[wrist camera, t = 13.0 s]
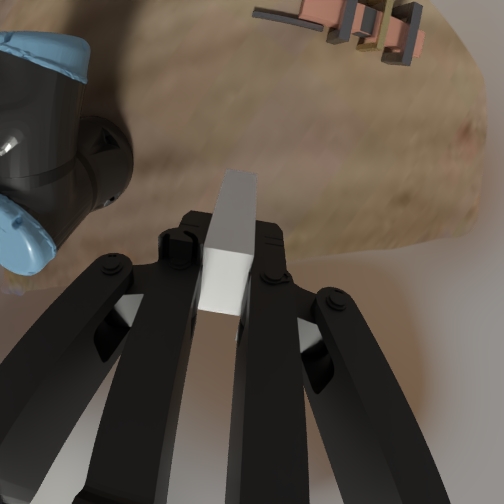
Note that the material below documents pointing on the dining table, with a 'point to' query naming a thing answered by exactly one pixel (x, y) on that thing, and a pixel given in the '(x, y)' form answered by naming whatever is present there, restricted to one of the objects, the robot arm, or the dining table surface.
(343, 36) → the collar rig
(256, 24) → the dining table surface
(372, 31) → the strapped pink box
